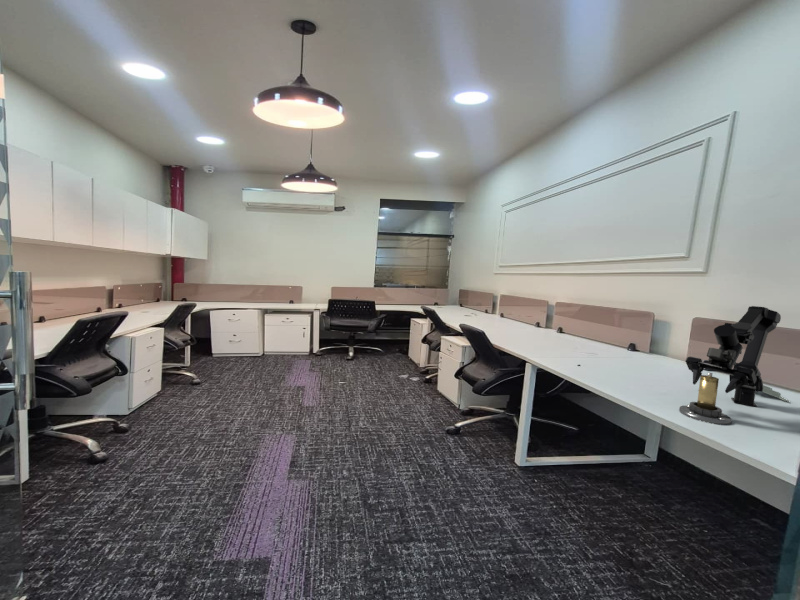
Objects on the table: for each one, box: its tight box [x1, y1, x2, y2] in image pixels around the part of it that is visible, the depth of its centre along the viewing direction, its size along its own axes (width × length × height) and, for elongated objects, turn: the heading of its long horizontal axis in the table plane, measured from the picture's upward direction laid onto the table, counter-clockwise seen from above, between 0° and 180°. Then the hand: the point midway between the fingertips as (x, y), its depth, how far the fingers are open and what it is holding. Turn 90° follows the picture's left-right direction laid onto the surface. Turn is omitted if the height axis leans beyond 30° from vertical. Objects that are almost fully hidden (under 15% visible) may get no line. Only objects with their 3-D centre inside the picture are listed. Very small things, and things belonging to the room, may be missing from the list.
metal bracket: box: [755, 384, 790, 403], centre depth 152 cm, size 14×6×15 cm
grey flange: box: [678, 401, 733, 426], centre depth 124 cm, size 14×14×4 cm
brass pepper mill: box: [696, 372, 720, 410], centre depth 124 cm, size 5×5×14 cm
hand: (709, 387), depth 124 cm, fingers open, 9 cm apart
